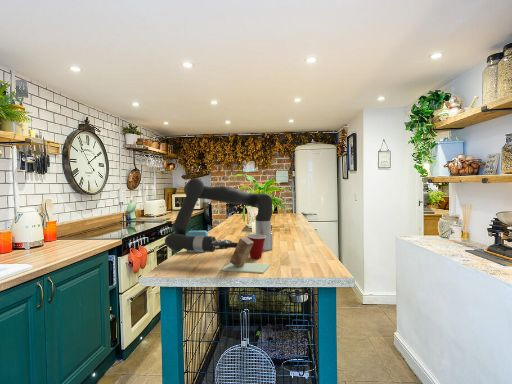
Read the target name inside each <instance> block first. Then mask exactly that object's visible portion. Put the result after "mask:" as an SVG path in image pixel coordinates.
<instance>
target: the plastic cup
mask: <svg viewBox="0 0 512 384" xmlns="http://www.w3.org/2000/svg"><path fill="white" fill-rule="evenodd" d="M245 237H247V238H249V239H250V240H251V241H253V242H254V243H253V246H252V248H251V250H250V252H249V257H250V259H252V260H258V259H261V258H262V257H263V245H264V240H265V238H266V236H264V235H259V234H256V233H249V234H246V235H245Z"/></svg>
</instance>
